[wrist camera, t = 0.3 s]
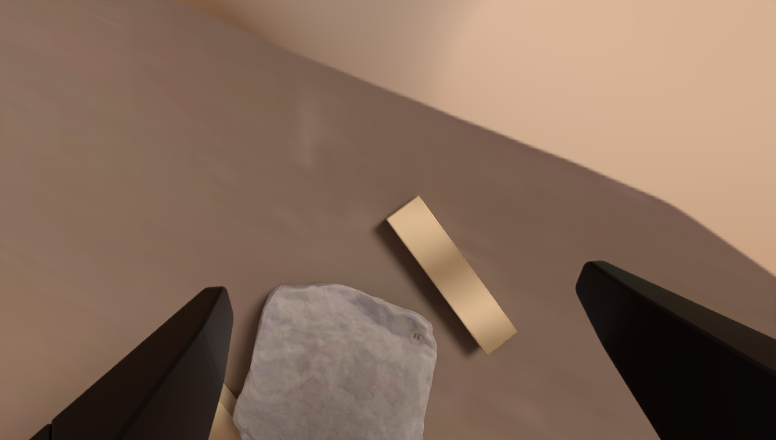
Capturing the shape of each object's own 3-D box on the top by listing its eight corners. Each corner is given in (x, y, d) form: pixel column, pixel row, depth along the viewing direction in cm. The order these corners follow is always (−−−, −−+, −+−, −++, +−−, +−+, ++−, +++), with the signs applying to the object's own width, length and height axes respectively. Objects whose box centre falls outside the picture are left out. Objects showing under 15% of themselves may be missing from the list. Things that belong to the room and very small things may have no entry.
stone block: (272, 272, 25) (239, 422, 23) (258, 271, 20) (215, 459, 19) (432, 298, 27) (413, 442, 25) (453, 302, 22) (431, 481, 20)
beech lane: (508, 324, 24) (517, 331, 23) (273, 505, 24) (267, 525, 22) (415, 196, 24) (418, 195, 22) (169, 378, 23) (156, 390, 21)
